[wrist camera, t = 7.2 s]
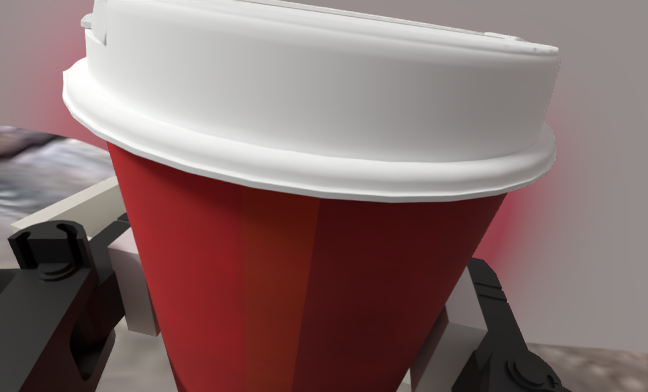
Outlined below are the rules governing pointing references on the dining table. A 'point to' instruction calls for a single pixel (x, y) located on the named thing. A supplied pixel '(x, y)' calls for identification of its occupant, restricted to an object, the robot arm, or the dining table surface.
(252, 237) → the paper cup
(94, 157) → the dining table surface
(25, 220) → the cup carrier
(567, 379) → the dining table surface
